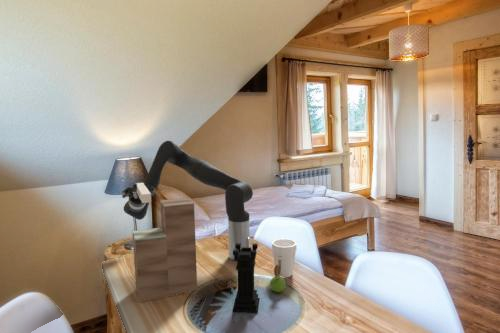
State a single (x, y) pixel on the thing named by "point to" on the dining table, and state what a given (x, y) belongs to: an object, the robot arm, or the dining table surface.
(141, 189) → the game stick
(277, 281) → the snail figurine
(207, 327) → the dining table surface
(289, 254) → the foam cup
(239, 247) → the chess piece
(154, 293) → the stepped stand
